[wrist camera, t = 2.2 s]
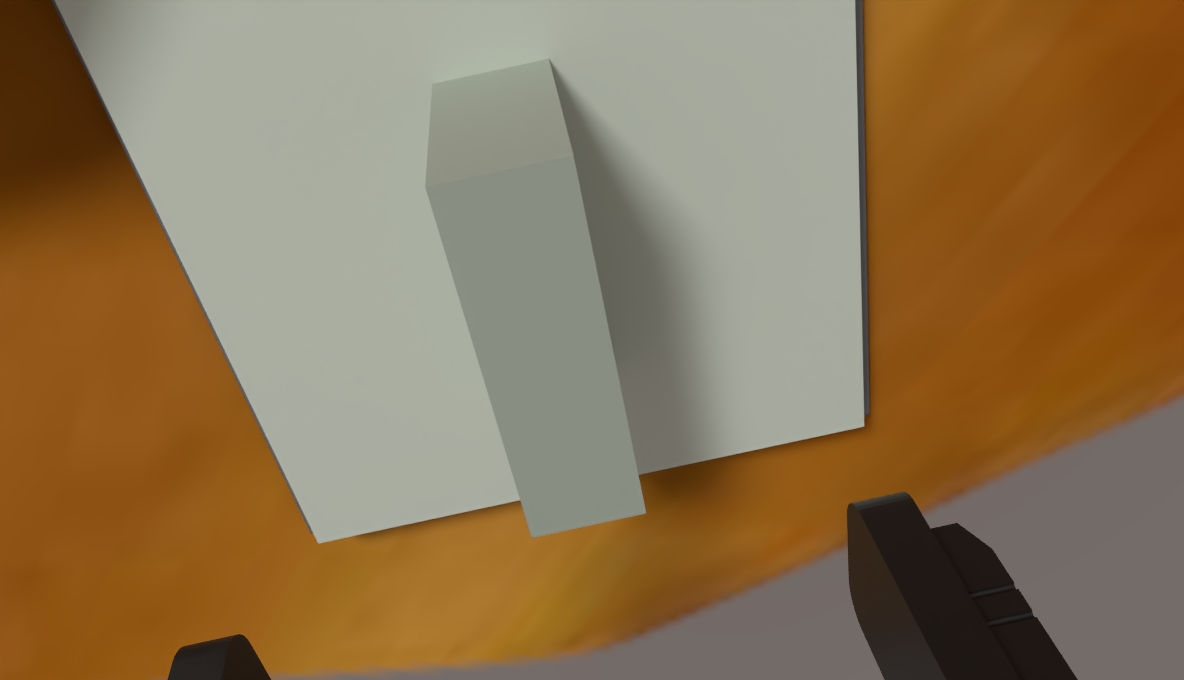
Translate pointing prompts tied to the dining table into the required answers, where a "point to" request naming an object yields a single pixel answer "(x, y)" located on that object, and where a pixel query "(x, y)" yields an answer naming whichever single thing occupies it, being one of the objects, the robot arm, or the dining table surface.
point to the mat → (861, 200)
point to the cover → (504, 234)
